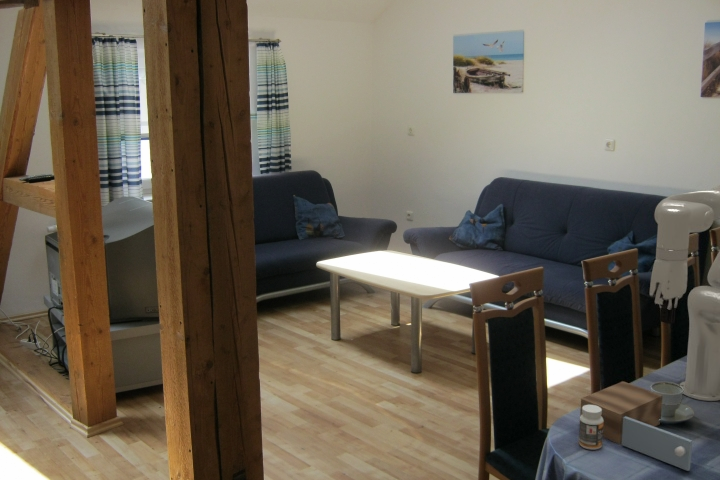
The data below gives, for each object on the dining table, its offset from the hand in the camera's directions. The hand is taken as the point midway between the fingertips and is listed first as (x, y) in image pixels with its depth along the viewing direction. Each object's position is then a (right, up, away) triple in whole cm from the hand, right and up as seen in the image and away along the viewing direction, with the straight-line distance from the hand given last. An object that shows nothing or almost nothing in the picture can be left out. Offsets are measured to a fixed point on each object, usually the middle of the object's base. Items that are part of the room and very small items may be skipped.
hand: (667, 322), depth 193 cm
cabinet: (-11, -28, +2) cm, 30 cm away
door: (-10, -31, -15) cm, 36 cm away
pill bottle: (-22, -30, -8) cm, 38 cm away
